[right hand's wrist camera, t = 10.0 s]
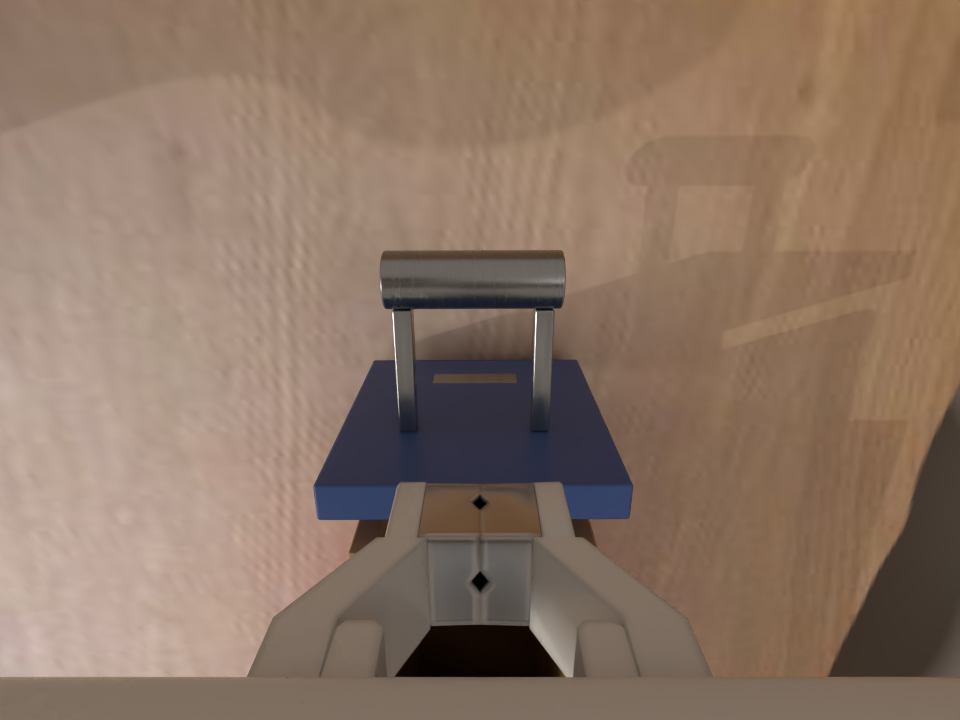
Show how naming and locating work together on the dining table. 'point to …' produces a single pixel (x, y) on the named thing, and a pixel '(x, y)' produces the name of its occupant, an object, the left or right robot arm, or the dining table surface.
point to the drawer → (473, 431)
